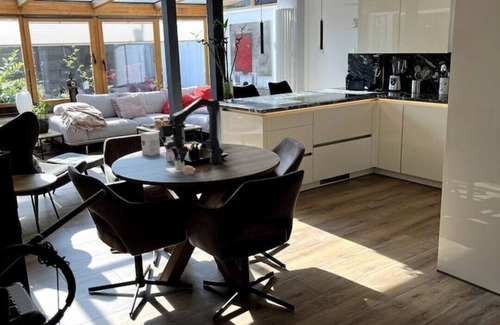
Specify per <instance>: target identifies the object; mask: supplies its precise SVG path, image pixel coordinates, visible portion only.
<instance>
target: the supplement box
mask: <svg viewBox="0 0 500 325" xmlns="http://www.w3.org/2000/svg"><path fill="white" fill-rule="evenodd" d="M140 139H141V155H145V156H150V157H151V156H155V155H160V154H161V148H160V147H161V146H160V145H161V144H160V132H158V131H151V130H150V131H145V132H141V133H140Z"/></svg>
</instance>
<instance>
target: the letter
mask: <svg viewBox="0 0 500 325" xmlns="http://www.w3.org/2000/svg"><path fill="white" fill-rule="evenodd" d="M165 169H166V170H167V171H168V172H170V173H171V174H172V173H173V174H174V173H179V172H182V169H180V170H177V169H175V166H174V167H169V168H167V167H166V168H165Z"/></svg>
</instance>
